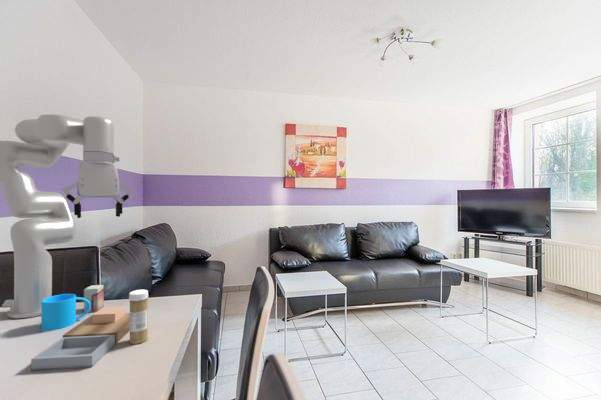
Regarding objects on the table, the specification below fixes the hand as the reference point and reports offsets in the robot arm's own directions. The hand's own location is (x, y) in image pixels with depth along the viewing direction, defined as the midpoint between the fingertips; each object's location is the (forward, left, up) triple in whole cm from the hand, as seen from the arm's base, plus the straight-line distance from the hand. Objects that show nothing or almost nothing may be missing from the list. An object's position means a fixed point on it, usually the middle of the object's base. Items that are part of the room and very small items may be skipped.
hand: (99, 217), depth 88 cm
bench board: (+3, -4, -33) cm, 33 cm away
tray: (+3, -16, -33) cm, 37 cm away
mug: (-12, +5, -33) cm, 36 cm away
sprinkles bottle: (+15, -9, -33) cm, 38 cm away
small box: (-10, +16, -33) cm, 38 cm away
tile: (+3, -1, -30) cm, 30 cm away
